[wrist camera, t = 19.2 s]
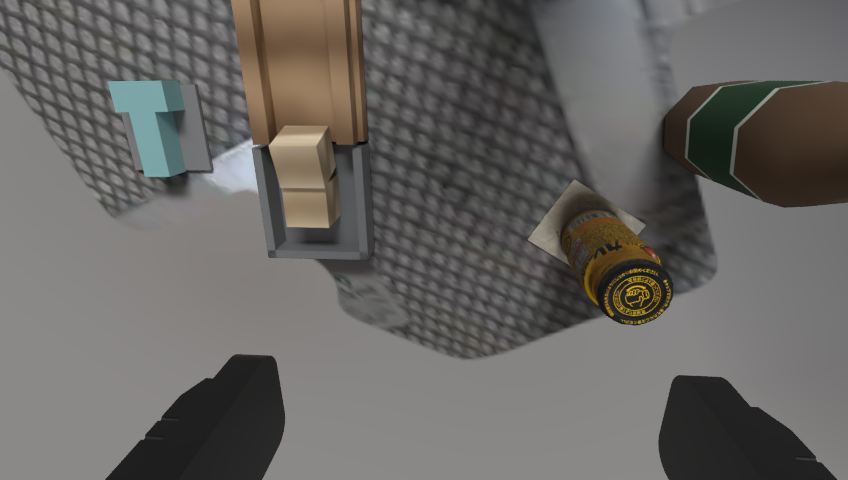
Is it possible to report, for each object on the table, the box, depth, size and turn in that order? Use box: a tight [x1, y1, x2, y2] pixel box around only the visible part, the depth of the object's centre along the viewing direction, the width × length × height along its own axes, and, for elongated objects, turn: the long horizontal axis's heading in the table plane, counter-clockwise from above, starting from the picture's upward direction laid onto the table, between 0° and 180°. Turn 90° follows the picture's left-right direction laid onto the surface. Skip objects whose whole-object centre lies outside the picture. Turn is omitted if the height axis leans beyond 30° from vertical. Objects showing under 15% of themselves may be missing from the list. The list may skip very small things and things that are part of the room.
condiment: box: [528, 179, 673, 325], centre depth 36 cm, size 7×8×12 cm
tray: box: [252, 143, 375, 260], centre depth 41 cm, size 11×10×3 cm
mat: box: [121, 85, 213, 170], centre depth 41 cm, size 8×8×1 cm
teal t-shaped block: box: [108, 81, 186, 177], centre depth 40 cm, size 2×5×8 cm
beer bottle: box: [664, 81, 848, 207], centre depth 26 cm, size 8×8×24 cm
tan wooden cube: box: [269, 126, 336, 188], centre depth 37 cm, size 4×4×4 cm
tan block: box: [282, 175, 341, 228], centre depth 40 cm, size 4×4×4 cm
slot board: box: [231, 0, 368, 145], centre depth 36 cm, size 17×10×4 cm, turn 1°
